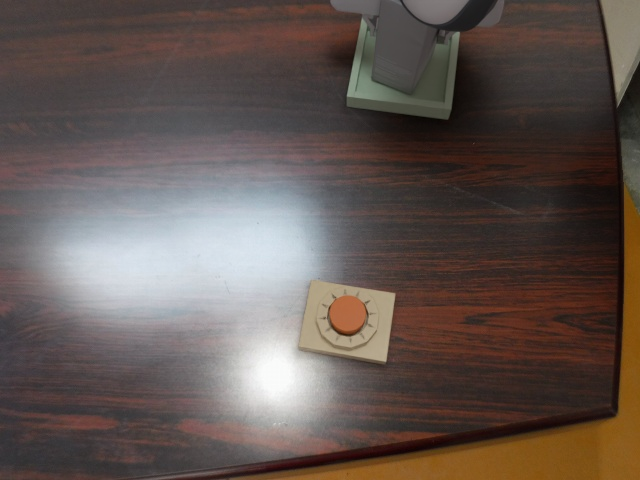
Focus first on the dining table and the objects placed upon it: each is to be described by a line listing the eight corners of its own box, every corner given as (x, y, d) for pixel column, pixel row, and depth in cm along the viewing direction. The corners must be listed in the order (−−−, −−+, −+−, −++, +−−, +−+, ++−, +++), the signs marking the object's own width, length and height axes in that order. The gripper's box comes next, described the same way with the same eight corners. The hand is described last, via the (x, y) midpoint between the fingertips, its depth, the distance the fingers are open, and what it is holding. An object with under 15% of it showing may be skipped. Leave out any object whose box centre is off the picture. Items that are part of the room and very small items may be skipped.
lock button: (368, 302, 60) (368, 298, 59) (362, 337, 59) (363, 334, 57) (333, 296, 61) (332, 292, 59) (327, 331, 59) (326, 327, 58)
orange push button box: (394, 298, 64) (397, 288, 60) (384, 364, 61) (387, 359, 58) (312, 284, 65) (310, 274, 61) (299, 349, 62) (296, 343, 59)
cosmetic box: (393, 38, 77) (404, -59, 62) (439, 55, 76) (462, -40, 61) (367, 81, 75) (373, -9, 60) (415, 100, 73) (432, 12, 58)
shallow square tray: (457, 38, 78) (460, 26, 75) (448, 119, 73) (451, 109, 71) (361, 28, 79) (362, 15, 77) (346, 106, 74) (346, 96, 72)
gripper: (322, -45, 57) (326, 47, 69) (520, -25, 54) (486, 65, 67) (332, -87, 59) (334, 9, 72) (522, -70, 57) (489, 26, 69)
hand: (409, 37), depth 69 cm, fingers closed on cosmetic box, 7 cm apart
